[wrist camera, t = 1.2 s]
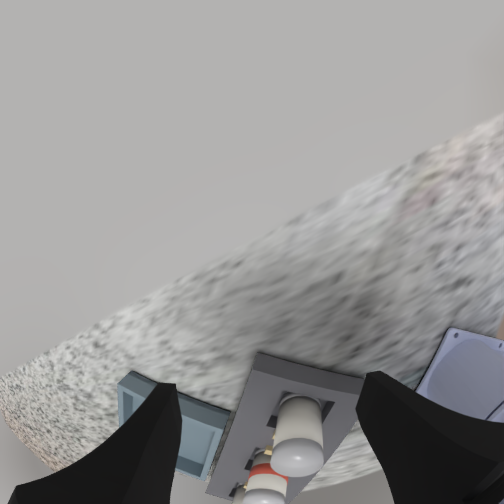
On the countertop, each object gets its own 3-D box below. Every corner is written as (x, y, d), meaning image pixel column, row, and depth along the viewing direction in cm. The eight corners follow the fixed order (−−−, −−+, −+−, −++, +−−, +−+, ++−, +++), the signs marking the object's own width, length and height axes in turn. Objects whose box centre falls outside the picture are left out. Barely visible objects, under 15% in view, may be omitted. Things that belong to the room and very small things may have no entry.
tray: (230, 412, 21) (223, 430, 18) (211, 465, 22) (204, 481, 20) (131, 370, 22) (117, 383, 20) (130, 431, 24) (120, 443, 21)
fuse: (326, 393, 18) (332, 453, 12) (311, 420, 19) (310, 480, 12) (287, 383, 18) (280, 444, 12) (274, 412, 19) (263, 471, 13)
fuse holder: (365, 379, 18) (372, 401, 15) (283, 496, 22) (280, 514, 19) (257, 352, 20) (250, 373, 17) (211, 478, 23) (203, 496, 20)
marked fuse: (296, 446, 19) (291, 502, 13) (283, 465, 20) (276, 516, 13) (260, 438, 20) (247, 493, 13) (251, 457, 20) (237, 508, 14)
